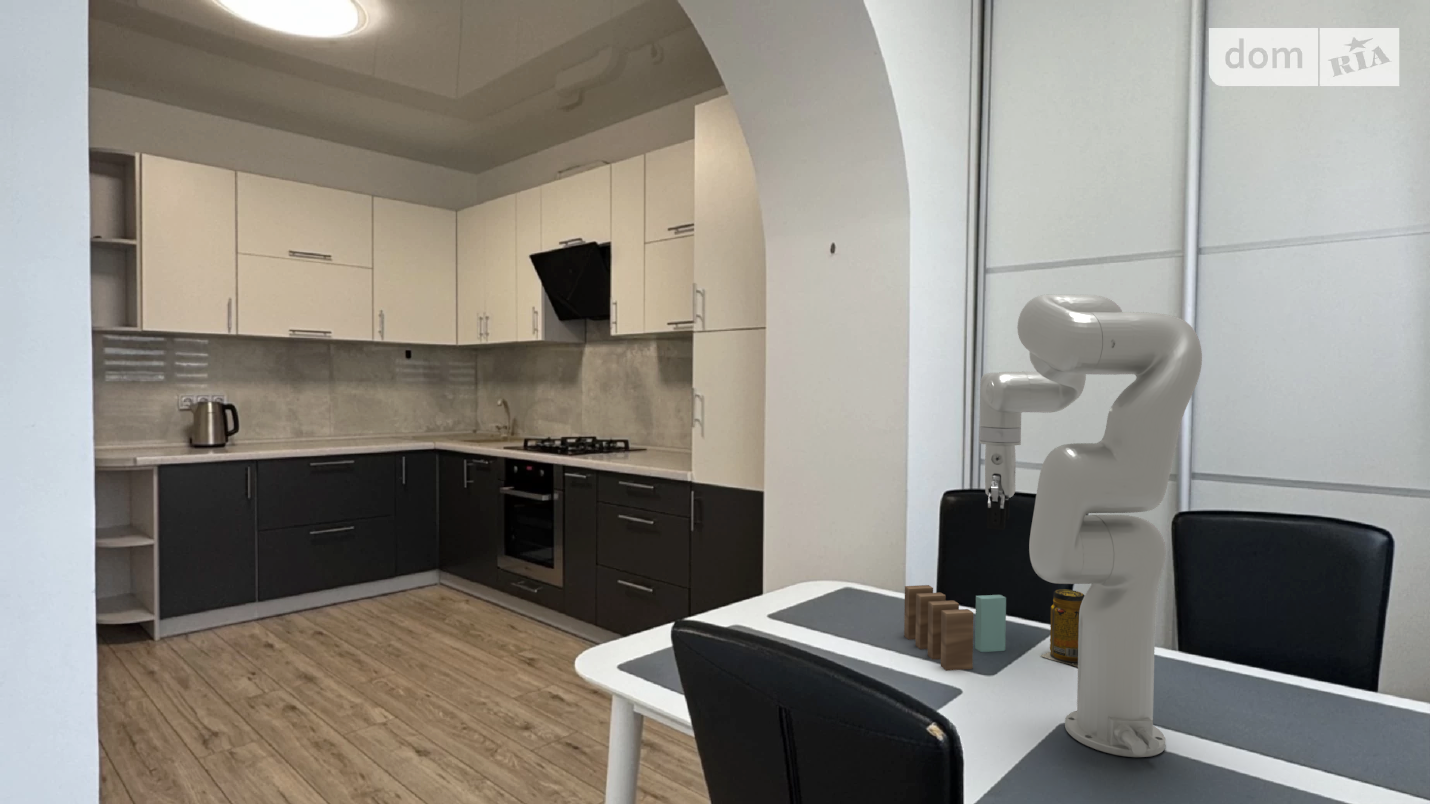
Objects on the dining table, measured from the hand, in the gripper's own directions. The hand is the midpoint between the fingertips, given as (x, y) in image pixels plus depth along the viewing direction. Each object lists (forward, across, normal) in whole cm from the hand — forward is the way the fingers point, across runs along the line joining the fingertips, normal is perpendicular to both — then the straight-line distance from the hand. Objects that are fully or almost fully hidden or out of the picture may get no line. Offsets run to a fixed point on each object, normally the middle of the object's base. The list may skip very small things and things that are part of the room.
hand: (998, 524), depth 145 cm
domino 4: (+23, -18, +5) cm, 30 cm away
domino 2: (+23, -10, +11) cm, 27 cm away
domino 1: (+23, -6, +14) cm, 27 cm away
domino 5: (+23, -6, 0) cm, 24 cm away
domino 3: (+23, -14, +8) cm, 28 cm away
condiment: (+23, -5, -14) cm, 27 cm away
